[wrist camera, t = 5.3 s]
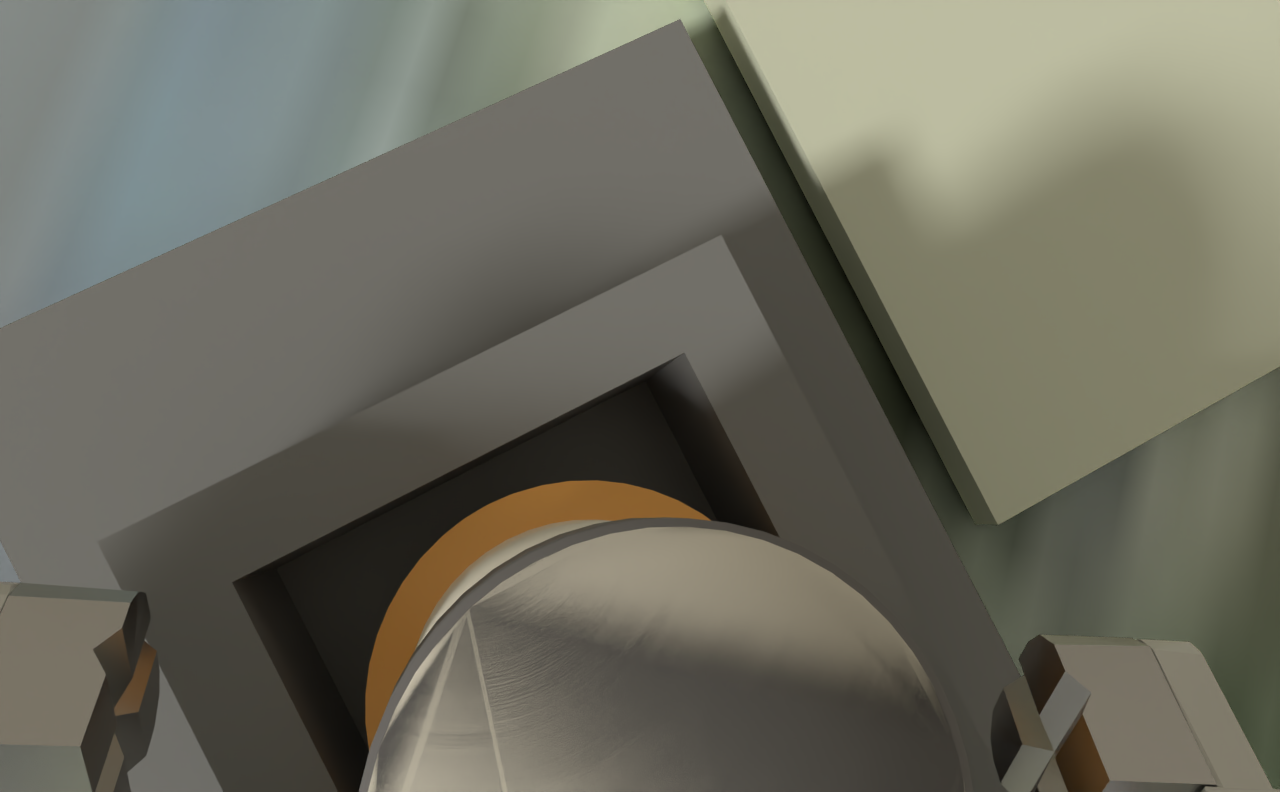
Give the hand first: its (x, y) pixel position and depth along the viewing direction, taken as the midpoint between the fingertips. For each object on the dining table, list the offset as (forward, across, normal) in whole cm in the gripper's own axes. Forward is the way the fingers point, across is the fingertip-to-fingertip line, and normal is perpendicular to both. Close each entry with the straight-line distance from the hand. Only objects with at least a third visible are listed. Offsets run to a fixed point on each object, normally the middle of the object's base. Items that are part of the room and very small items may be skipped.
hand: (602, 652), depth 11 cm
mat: (+10, -7, -2) cm, 13 cm away
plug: (+3, 0, +4) cm, 5 cm away
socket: (+4, 0, +5) cm, 6 cm away
